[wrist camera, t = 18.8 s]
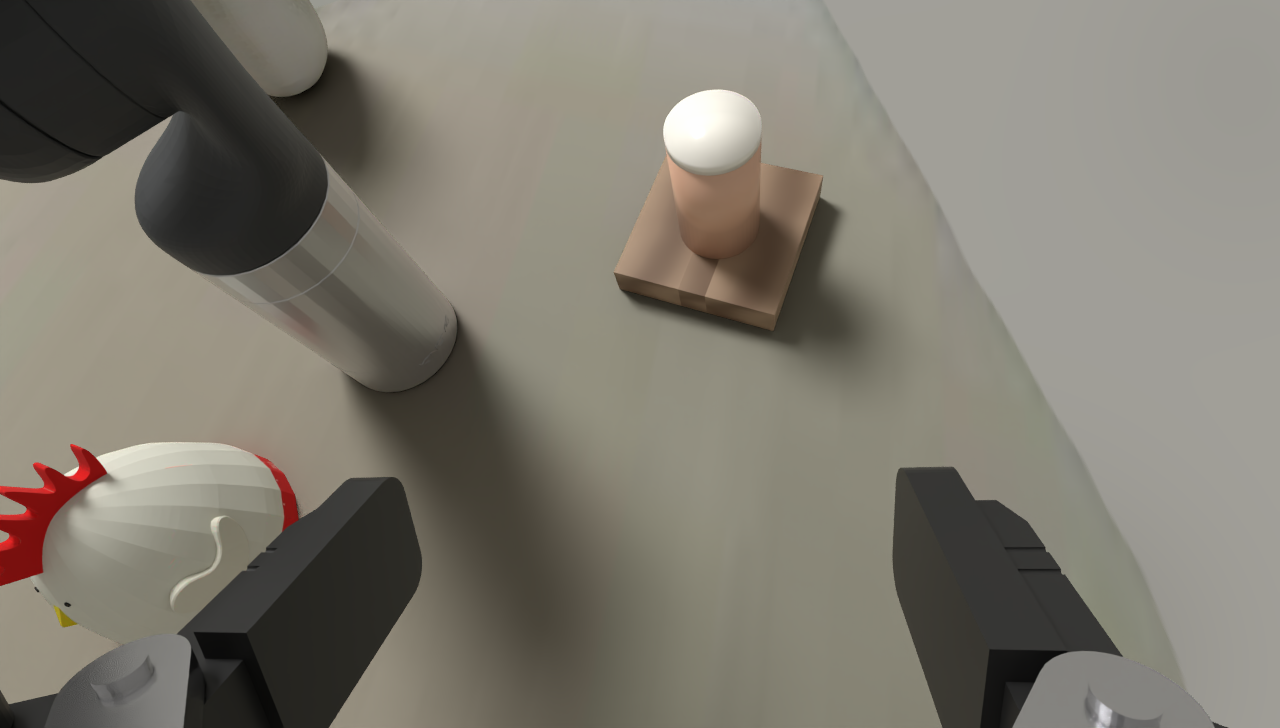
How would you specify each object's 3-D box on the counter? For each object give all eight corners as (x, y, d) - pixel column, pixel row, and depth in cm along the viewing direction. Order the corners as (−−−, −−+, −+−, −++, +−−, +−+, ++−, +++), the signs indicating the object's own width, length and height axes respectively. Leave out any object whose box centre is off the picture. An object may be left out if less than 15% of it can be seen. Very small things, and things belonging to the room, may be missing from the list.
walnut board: (619, 288, 50) (613, 272, 48) (674, 165, 54) (670, 144, 52) (773, 331, 47) (774, 315, 45) (819, 196, 51) (823, 175, 48)
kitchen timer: (81, 607, 47) (-193, 591, 33) (189, 429, 51) (-14, 351, 38) (231, 682, 43) (-9, 699, 30) (333, 484, 48) (165, 419, 34)
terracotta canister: (668, 248, 48) (649, 155, 39) (694, 185, 50) (682, 82, 41) (744, 267, 46) (743, 175, 37) (769, 201, 48) (774, 98, 39)
